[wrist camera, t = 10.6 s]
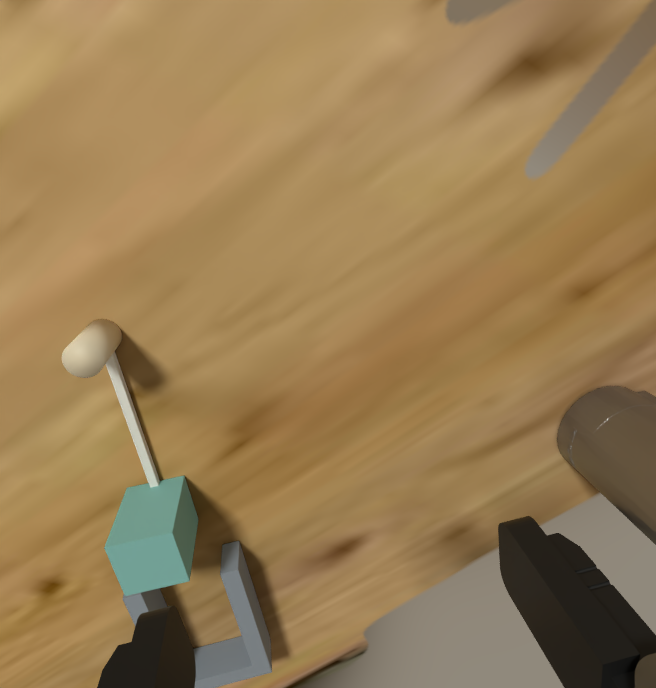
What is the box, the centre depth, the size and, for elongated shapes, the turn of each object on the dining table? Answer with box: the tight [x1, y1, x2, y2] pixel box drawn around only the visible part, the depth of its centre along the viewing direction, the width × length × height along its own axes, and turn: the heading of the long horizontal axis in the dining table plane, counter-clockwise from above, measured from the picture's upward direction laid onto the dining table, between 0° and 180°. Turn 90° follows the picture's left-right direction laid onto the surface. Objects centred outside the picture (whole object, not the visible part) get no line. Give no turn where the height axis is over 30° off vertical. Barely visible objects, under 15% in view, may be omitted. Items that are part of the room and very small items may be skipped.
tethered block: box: [62, 319, 199, 596], centre depth 37 cm, size 5×20×7 cm, turn 9°
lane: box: [123, 541, 272, 688], centre depth 46 cm, size 10×14×4 cm
